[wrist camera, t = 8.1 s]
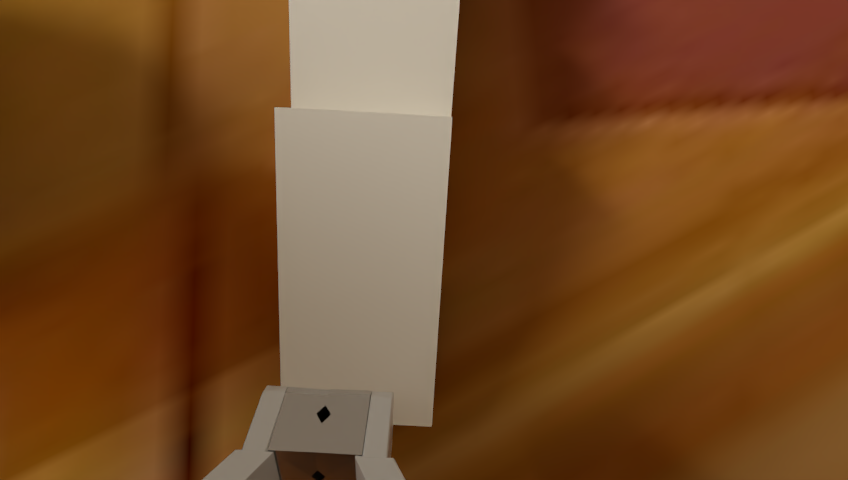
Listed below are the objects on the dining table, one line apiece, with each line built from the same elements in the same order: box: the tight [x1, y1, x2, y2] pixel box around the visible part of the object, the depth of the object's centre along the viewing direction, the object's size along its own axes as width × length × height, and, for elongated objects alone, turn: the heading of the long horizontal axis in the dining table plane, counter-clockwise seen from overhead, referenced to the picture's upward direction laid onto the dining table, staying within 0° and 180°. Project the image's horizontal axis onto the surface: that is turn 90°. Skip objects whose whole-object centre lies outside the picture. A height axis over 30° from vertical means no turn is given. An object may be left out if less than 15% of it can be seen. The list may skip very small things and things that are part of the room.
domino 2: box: [274, 107, 452, 427], centre depth 16 cm, size 2×5×10 cm
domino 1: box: [289, 0, 460, 117], centre depth 16 cm, size 2×5×10 cm
